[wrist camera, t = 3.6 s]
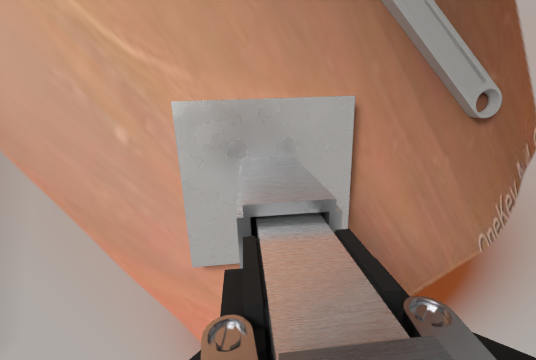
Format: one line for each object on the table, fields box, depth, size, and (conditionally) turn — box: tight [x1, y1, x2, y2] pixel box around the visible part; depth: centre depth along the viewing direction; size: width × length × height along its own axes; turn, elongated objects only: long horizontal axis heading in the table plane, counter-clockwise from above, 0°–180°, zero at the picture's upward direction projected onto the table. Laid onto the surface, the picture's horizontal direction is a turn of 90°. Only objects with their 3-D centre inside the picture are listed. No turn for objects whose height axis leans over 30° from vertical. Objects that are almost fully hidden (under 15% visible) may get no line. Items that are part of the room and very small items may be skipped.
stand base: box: [171, 96, 355, 269], centre depth 18 cm, size 14×14×12 cm
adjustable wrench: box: [381, 0, 502, 118], centre depth 20 cm, size 25×6×2 cm, turn 43°
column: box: [253, 212, 454, 360], centre depth 13 cm, size 4×3×18 cm
